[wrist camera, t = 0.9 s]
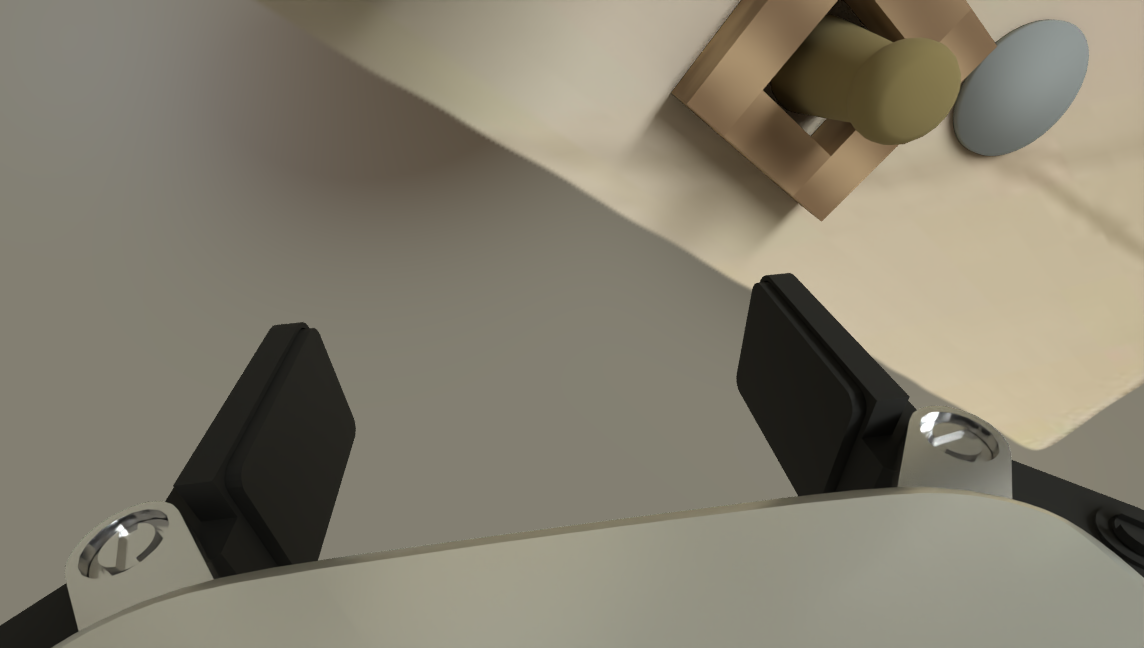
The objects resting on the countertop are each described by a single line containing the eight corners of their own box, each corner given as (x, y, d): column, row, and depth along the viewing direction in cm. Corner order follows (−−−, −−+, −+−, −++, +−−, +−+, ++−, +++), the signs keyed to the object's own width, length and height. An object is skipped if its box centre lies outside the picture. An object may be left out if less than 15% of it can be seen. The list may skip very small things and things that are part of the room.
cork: (801, 131, 37) (897, 183, 28) (753, 70, 35) (843, 106, 26) (874, 61, 35) (1003, 94, 26) (829, -9, 33) (956, 0, 24)
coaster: (1049, -12, 34) (1057, -12, 34) (1100, 75, 38) (1108, 76, 37) (930, 107, 38) (936, 108, 37) (987, 175, 41) (993, 178, 41)
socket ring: (836, -125, 29) (872, -135, 26) (956, 39, 35) (997, 46, 32) (671, 93, 35) (686, 104, 32) (798, 203, 41) (821, 221, 38)
